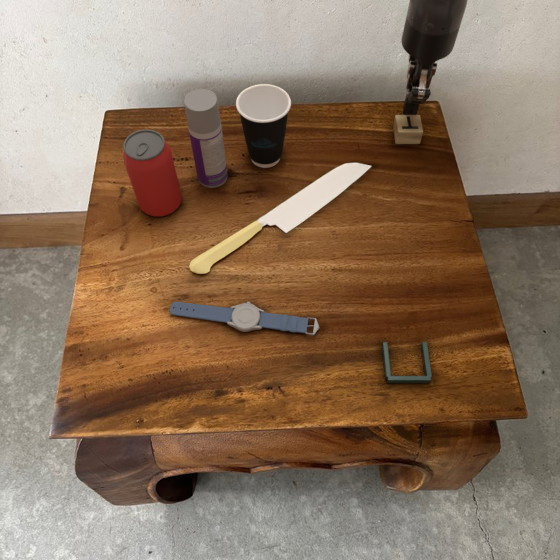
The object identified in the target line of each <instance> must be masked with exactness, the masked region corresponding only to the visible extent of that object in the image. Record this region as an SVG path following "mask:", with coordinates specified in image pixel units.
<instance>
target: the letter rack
mask: <svg viewBox="0 0 560 560" xmlns="http://www.w3.org/2000/svg"><path fill="white" fill-rule="evenodd" d="M420 350H421V358H422V364H423V373H424V375H392V371H391V362H390V351H389V344H388V341H382V344H381V353H382V363H383V371H384V372H383V373H384V380H386V383H387V384H430V383H431V382H432V378H433V374H432V368H431V361H430V353H429V346H428V341H422V342H421V344H420Z"/></svg>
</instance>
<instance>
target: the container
mask: <svg viewBox="0 0 560 560" xmlns="http://www.w3.org/2000/svg"><path fill="white" fill-rule="evenodd" d="M218 101H219V100H218V96H217V94H216V93H215V92H214V91H212V90H210V89H207V88H196V89H193V90H191V91H188V93H186V94H185V96H184V98H183V104H184V111H185V118H186V124H187V129H188V130H187V131H188V135H189V140H190V145H191V150H192V155H193V160H194V166H195V171H196V177H197V181H198V182H199V184H200V185H201V186H203V187H204V188H209V189H216V188H219V187H221V186H223V185H224V184H225V183H226V182H227V180H228V176H229V175H228V167H227V158H226V150H225V144H224V134H223V127H222V120H221V113H220V108H219V103H218Z"/></svg>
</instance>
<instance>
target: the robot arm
mask: <svg viewBox="0 0 560 560" xmlns="http://www.w3.org/2000/svg"><path fill="white" fill-rule="evenodd" d="M467 5H468V0H409V3H408V8H407V11H406V16H405V22H404V26H403V30H402V36H401V46H402V48H403V50H404V51H405V52H406V54H408V65H407V69H406V86H405V90H406V92H405V98H404V102H403V107H402V115H418V111H419V107H420V105H424V104H425V103H426V102H427V100H428V99H430V96H431V94H432V92H431V89H430V87H431V86H430V85H431V83H432V79H433V77H434V76H435V75H436V72H437V69H438V61H440V60H442V59H445V58H447V57H448V56H449V55H450V54H451V53H452V52H453V50H454V47H455V44H456V41H457V38H458V34H459V31H460V28H461V25H462V21H463V19H464V16H465V12H466V10H467V9H466V8H467Z"/></svg>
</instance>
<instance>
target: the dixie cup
mask: <svg viewBox="0 0 560 560" xmlns="http://www.w3.org/2000/svg"><path fill="white" fill-rule="evenodd" d="M235 100H236V101H235V107H236V110H237V112H238V113H239V117H240V122H241V126H242V131H243V136H244V140H245V145H246V149H247V155H248V157H249V159H250V161H251V162H252V163H253V165H255V166H256V167H259V168H262V169H268V168H272V167H275V166H276V165H277V164H278V163H279V162H280V160H281V157H282V156H283V151H284V145H285V138H286V130H287V123H288V117H289V111H290V110H291V107H292V100H291V97H290V95H289V93H288V92H287V91H286V90H285V89H283V88H282V87H280V86H277V85H274V84H268V83H260V84H259V83H258V84H254V85H251V86H249V87H247V88H245V89H243V90H242V91H241V92H240V93H239V94H238V96H237V98H236V99H235Z"/></svg>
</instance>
